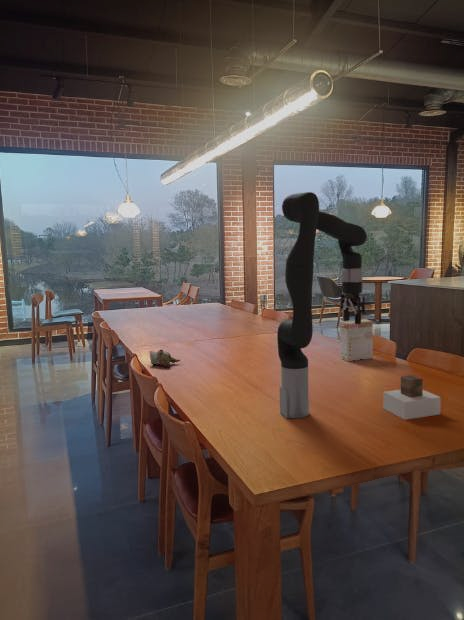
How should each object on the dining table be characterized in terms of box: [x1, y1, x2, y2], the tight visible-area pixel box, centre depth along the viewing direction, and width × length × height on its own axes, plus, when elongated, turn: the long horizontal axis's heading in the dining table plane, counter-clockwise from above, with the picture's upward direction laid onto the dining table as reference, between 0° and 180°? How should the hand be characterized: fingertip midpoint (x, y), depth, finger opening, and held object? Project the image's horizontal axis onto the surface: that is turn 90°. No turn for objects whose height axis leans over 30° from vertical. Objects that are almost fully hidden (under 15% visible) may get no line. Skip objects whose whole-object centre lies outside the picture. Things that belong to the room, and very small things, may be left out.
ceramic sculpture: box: [149, 349, 181, 367], centre depth 238 cm, size 11×9×15 cm
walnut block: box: [400, 374, 424, 397], centre depth 160 cm, size 5×5×6 cm
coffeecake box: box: [339, 318, 374, 362], centre depth 237 cm, size 15×7×20 cm, turn 108°
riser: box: [382, 389, 442, 421], centre depth 161 cm, size 14×12×6 cm
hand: (352, 322), depth 180 cm, fingers open, 8 cm apart
